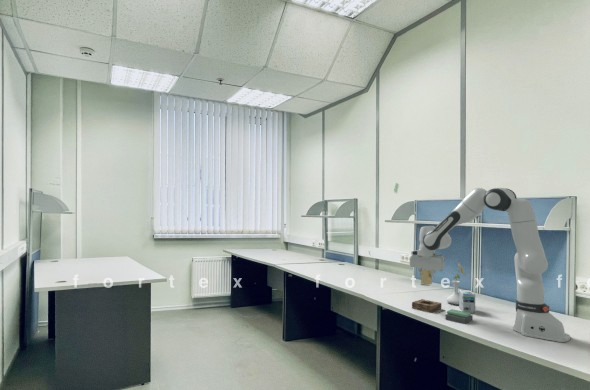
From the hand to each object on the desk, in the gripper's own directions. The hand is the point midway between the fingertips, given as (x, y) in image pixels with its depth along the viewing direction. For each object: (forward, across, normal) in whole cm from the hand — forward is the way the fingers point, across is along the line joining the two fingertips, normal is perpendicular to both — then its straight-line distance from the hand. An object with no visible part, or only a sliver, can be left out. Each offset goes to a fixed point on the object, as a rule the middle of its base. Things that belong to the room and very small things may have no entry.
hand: (426, 276), depth 218 cm
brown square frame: (+19, 0, 0) cm, 19 cm away
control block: (+18, -22, +8) cm, 30 cm away
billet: (+4, 0, 0) cm, 4 cm away
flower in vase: (+19, -6, -27) cm, 34 cm away
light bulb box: (+19, -17, -15) cm, 30 cm away
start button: (+17, -22, +8) cm, 29 cm away
